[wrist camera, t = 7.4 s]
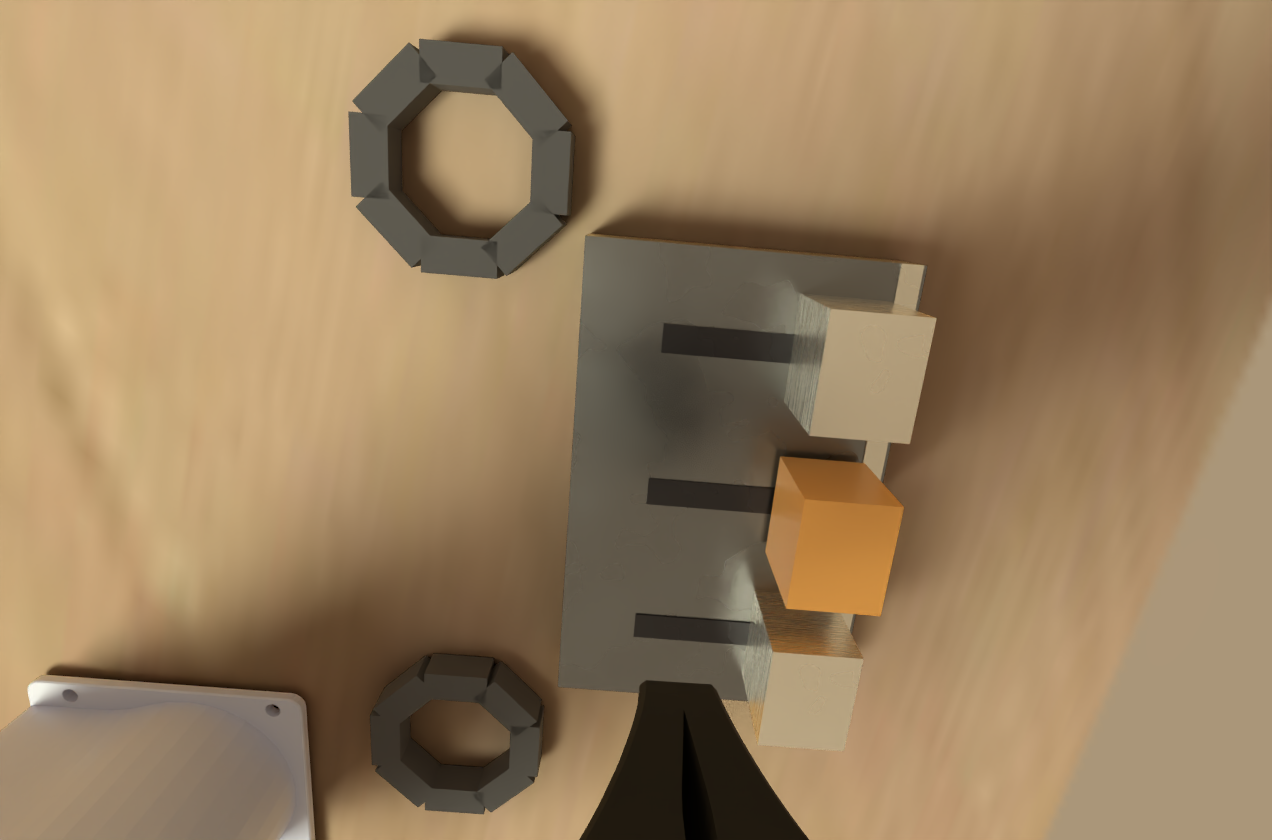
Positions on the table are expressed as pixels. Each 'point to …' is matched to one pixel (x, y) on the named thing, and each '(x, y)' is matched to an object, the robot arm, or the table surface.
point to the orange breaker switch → (832, 536)
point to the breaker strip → (724, 463)
